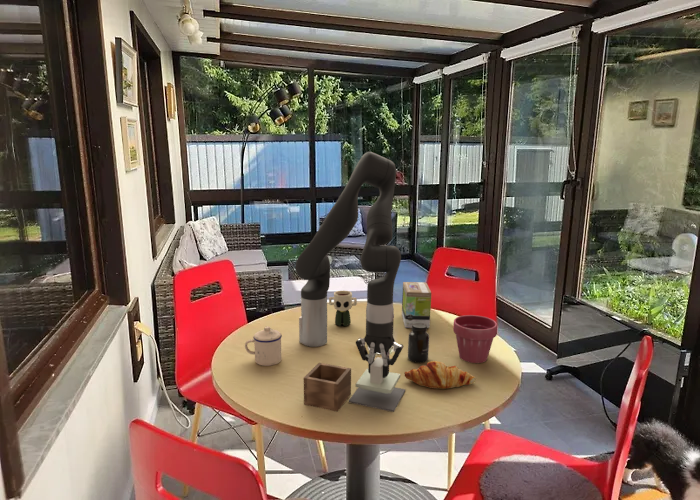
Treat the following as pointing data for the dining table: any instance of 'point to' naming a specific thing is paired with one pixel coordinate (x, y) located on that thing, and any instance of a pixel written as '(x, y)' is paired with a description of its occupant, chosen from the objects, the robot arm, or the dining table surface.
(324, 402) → the walnut box
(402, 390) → the rubber pad
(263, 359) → the teacup with lid
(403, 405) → the dining table surface
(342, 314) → the character mug
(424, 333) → the supplement bottle
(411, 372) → the croissant
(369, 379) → the lid
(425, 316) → the tea box
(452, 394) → the dining table surface
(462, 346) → the plant pot
